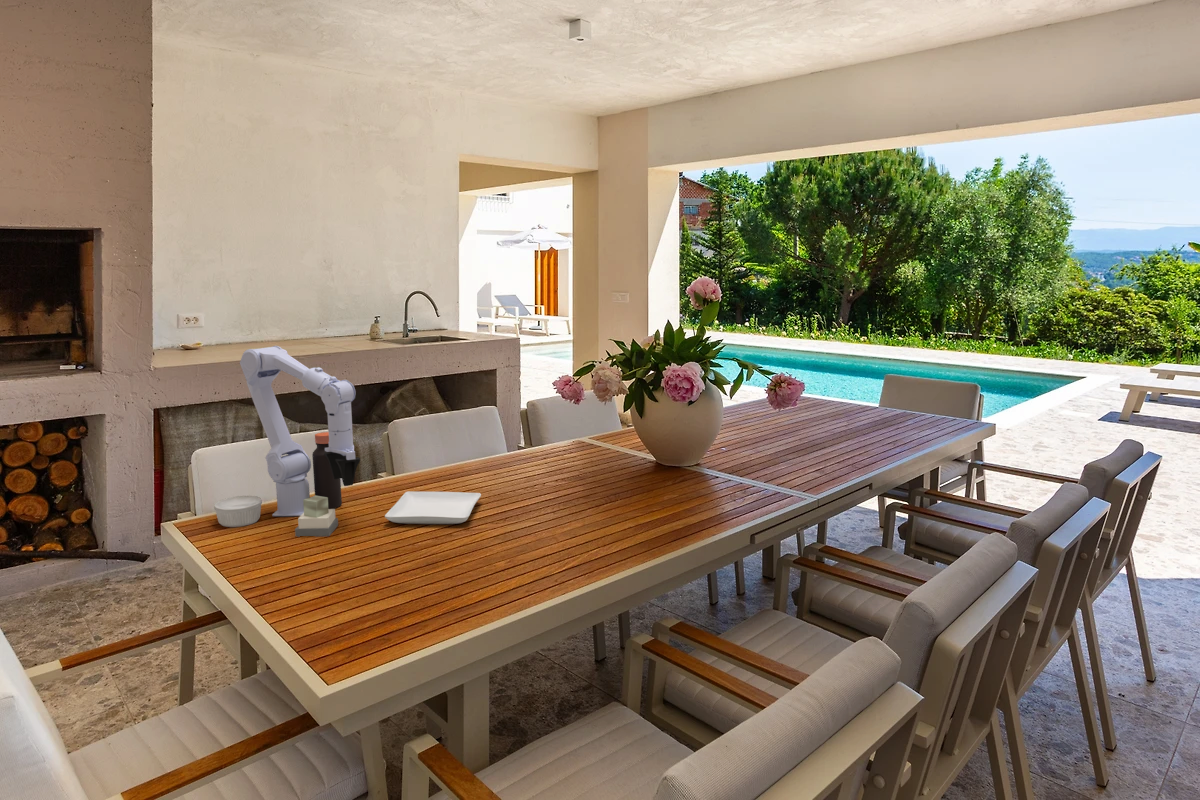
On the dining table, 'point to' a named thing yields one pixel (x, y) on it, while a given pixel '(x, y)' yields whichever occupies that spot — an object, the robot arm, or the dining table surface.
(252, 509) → the ramekin
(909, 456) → the dining table surface
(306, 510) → the sage cube
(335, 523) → the charcoal slab
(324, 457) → the bottle
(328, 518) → the cream slab
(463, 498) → the salad plate
